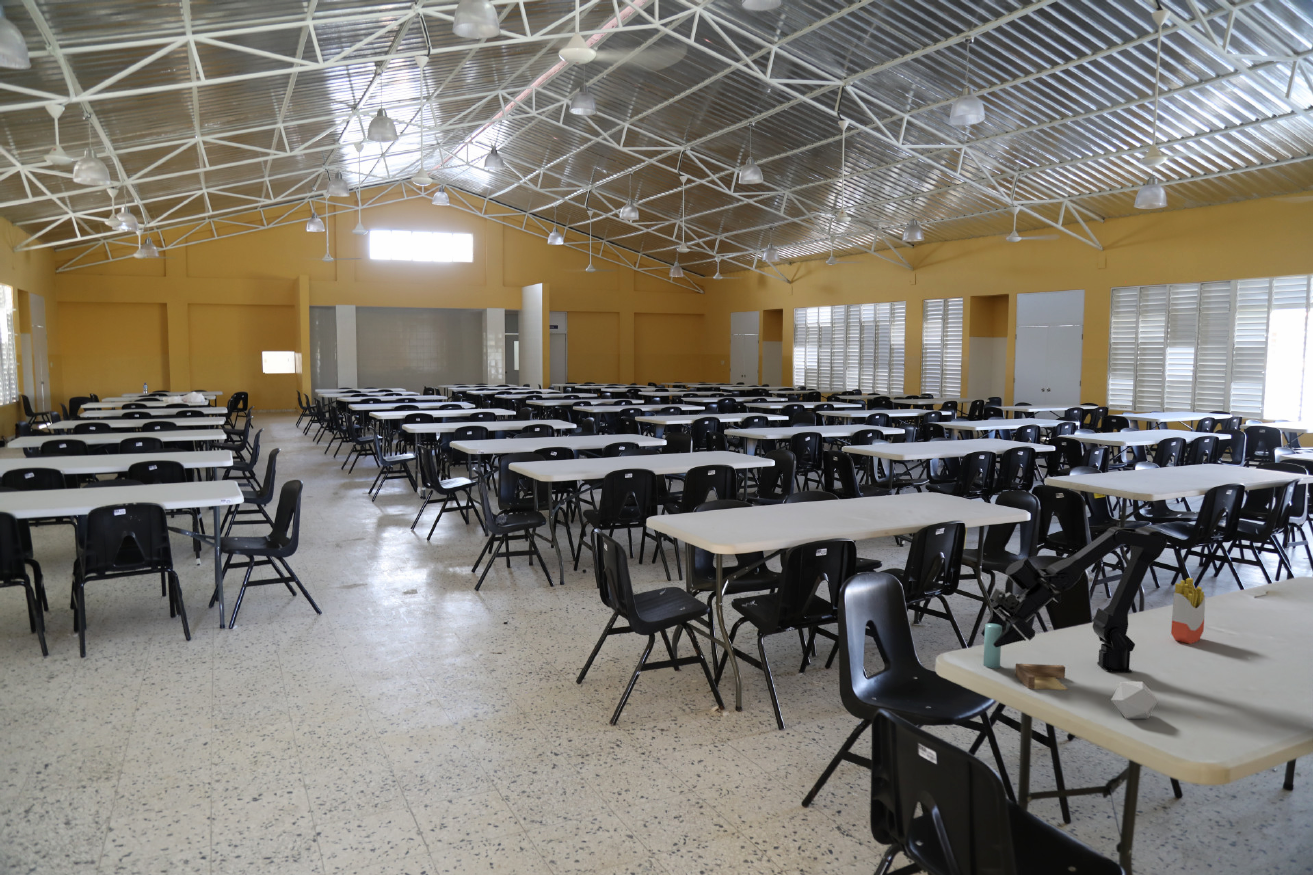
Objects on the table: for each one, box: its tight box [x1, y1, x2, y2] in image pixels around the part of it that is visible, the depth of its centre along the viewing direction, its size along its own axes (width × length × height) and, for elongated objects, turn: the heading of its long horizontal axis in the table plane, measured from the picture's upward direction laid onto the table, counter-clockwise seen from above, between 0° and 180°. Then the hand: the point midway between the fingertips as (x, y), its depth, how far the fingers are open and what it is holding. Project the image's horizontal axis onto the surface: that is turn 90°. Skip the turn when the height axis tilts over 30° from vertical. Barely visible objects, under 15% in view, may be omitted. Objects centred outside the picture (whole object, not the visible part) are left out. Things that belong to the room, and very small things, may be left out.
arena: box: [1014, 663, 1068, 691], centre depth 219 cm, size 12×10×3 cm
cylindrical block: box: [983, 623, 1003, 669], centre depth 230 cm, size 4×4×11 cm
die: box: [1110, 681, 1159, 720], centre depth 198 cm, size 8×9×10 cm
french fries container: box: [1170, 577, 1206, 645], centre depth 253 cm, size 5×11×18 cm, turn 124°
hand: (988, 640), depth 230 cm, fingers open, 9 cm apart
